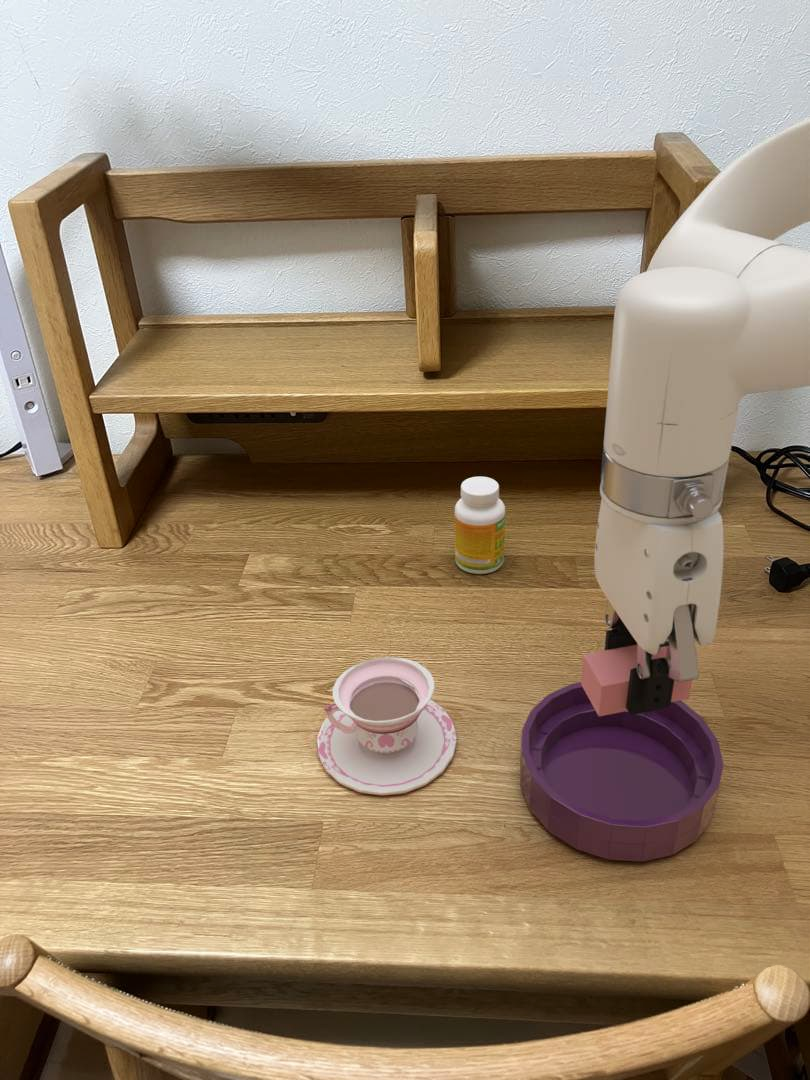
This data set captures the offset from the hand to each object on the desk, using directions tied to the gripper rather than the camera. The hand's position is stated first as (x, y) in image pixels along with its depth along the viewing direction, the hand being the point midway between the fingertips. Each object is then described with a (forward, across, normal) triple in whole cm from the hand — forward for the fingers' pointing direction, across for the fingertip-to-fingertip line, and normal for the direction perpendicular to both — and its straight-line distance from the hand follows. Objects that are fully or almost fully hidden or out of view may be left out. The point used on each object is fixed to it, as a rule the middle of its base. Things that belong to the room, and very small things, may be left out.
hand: (635, 686), depth 66 cm
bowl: (+11, 0, +1) cm, 11 cm away
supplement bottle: (+11, +33, +3) cm, 35 cm away
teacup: (+11, +9, +18) cm, 23 cm away
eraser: (0, 0, 0) cm, 0 cm away
